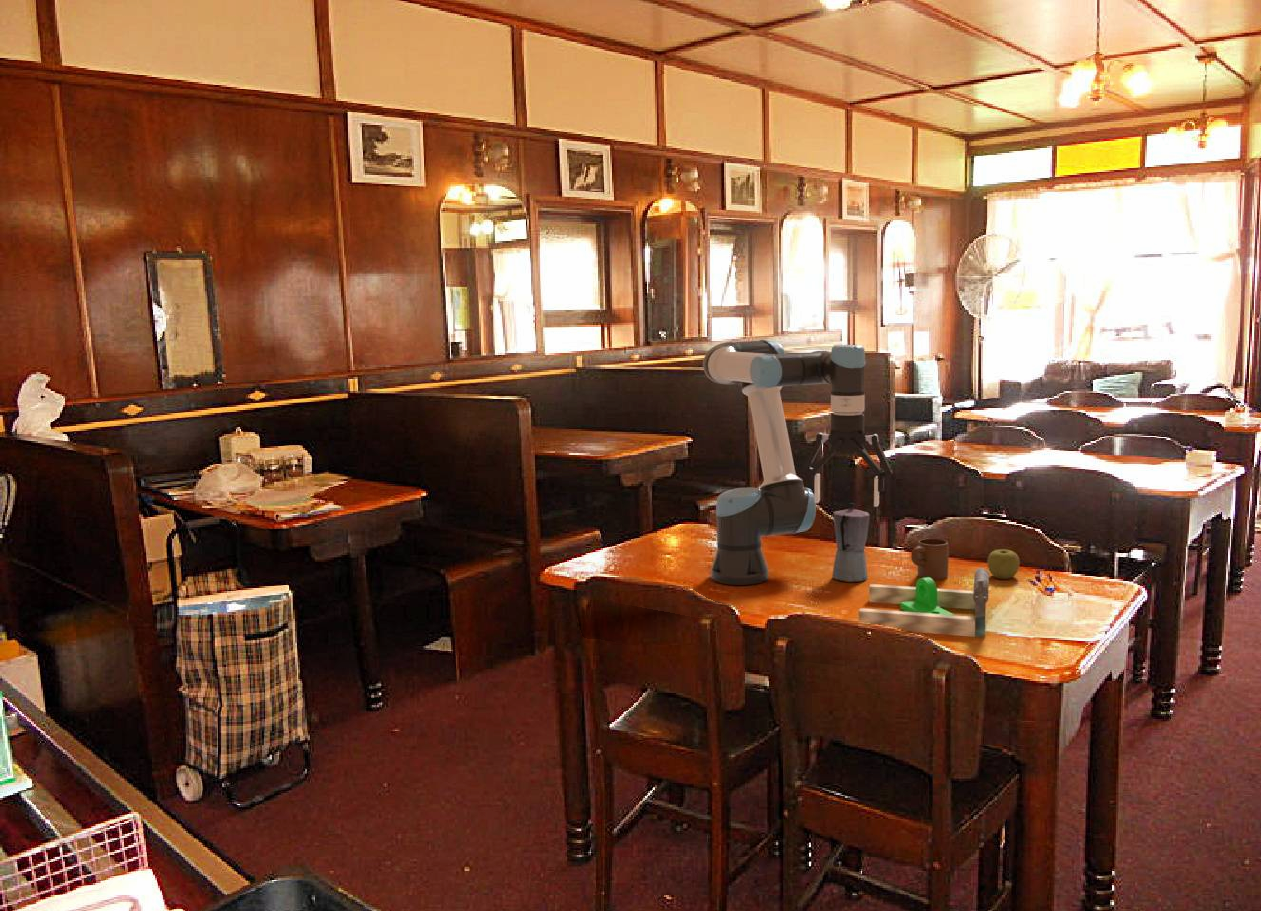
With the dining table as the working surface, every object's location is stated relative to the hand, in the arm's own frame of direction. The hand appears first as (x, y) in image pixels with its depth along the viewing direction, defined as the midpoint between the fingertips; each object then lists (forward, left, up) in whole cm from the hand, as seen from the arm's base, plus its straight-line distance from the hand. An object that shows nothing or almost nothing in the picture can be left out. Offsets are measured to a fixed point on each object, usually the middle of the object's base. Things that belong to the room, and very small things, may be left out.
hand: (846, 503), depth 217 cm
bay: (+17, -4, -25) cm, 30 cm away
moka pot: (-2, +23, -25) cm, 34 cm away
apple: (+35, +33, -25) cm, 54 cm away
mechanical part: (+18, -2, -25) cm, 31 cm away
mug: (+16, +28, -25) cm, 41 cm away
